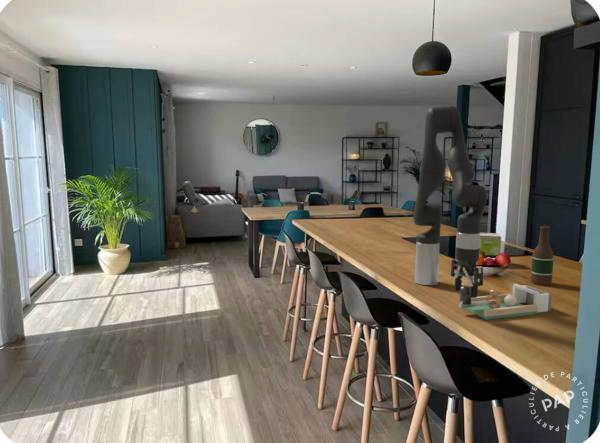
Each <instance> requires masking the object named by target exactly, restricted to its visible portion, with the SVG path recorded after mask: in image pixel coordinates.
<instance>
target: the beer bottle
mask: <svg viewBox="0 0 600 443" xmlns="http://www.w3.org/2000/svg"><path fill="white" fill-rule="evenodd" d="M539 229H540V230H539V237H538V243H537V246H536V247H535V248H534V249H533V252H532V256H531V257H532V258H531V270H530V271H531V272H530V282H531V284H533V285H537V286H541V287H543V286H544V287H545V286H547V287H548V286H551V285H552V283H553V270H554V257H555V256H554V250H553V249H552V248H551V246H550V230H551V227H550V226H549V225H542V226H540V227H539Z"/></svg>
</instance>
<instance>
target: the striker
mask: <svg viewBox="0 0 600 443" xmlns="http://www.w3.org/2000/svg"><path fill="white" fill-rule="evenodd" d="M470 286H471V285H465V284H464V285H462V286H460V291H459V302H458V308H460V309H464V308H468V307H478V306H488V305H489V306H491V307H493V308H500V299H499V298H497V297H496V296H497V295H499V293H498V291H497V289H496V288H495V289H494V288H493V289H491V290H490V291H489V294H486V296H487V300H483V301H473V302H471V297H470Z"/></svg>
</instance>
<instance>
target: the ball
mask: <svg viewBox="0 0 600 443" xmlns="http://www.w3.org/2000/svg"><path fill="white" fill-rule="evenodd" d="M504 302H505V304H506V305H508V306H514V305H516V303H517V299H516V297H515V296H513V295H512V294H511V295H507V296H506V297H505V298H504Z"/></svg>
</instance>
